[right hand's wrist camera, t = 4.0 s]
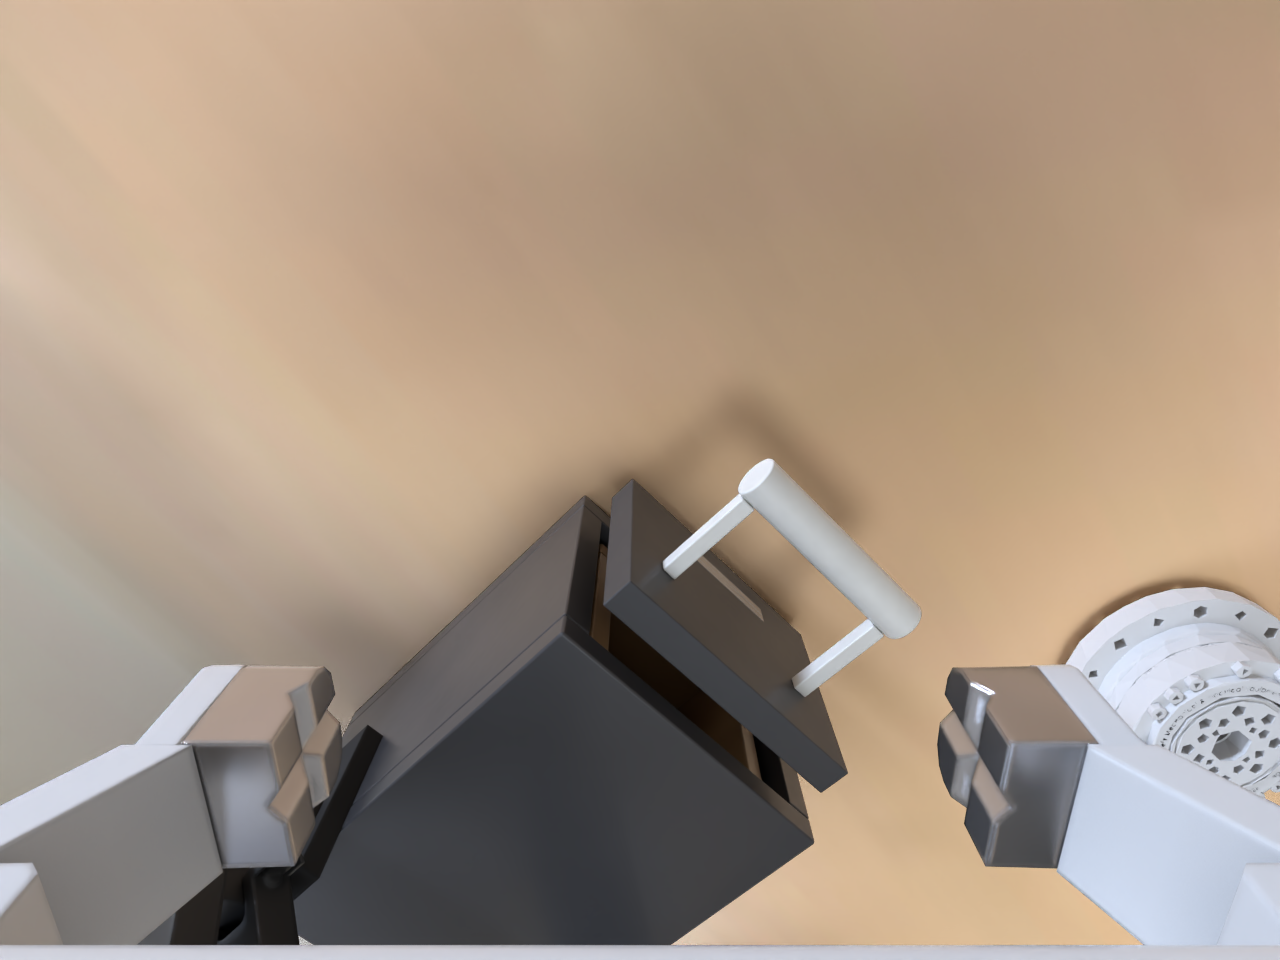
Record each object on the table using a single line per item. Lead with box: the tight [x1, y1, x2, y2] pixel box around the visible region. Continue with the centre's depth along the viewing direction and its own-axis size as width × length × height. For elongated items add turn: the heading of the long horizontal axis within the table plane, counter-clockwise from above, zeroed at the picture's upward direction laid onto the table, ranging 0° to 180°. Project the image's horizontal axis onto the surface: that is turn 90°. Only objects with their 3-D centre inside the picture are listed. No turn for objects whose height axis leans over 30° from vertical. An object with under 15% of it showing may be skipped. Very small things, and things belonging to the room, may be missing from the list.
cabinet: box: [293, 496, 814, 945], centre depth 32 cm, size 16×11×10 cm
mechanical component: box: [1066, 587, 1280, 798], centre depth 34 cm, size 10×4×10 cm
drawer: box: [589, 459, 922, 792], centre depth 30 cm, size 19×10×8 cm, turn 135°
